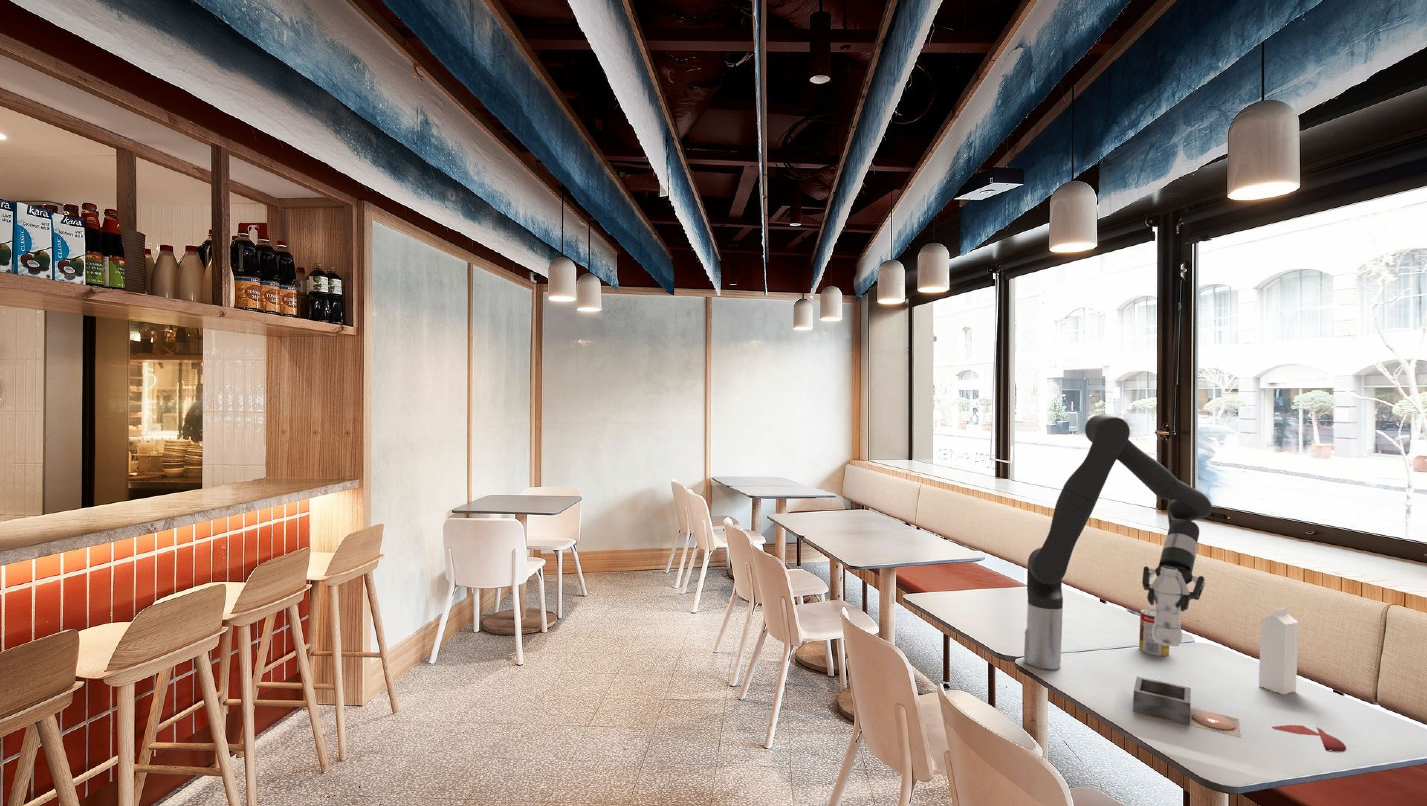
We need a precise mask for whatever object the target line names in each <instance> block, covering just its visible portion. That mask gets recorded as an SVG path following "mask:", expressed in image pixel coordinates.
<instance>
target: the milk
mask: <svg viewBox="0 0 1427 806" xmlns="http://www.w3.org/2000/svg"><path fill="white" fill-rule="evenodd" d="M1287 611H1288V609H1287V607H1282V608H1274V609H1273V613H1272V614H1271V615H1267V616H1264V617H1261V619H1260V638H1259V639H1260V641H1259V643H1260V646H1259V666H1258V667H1259V668H1258V670H1259V671H1258V686H1259V685H1260V686H1261V687H1260V688H1262V687H1264V688H1263V689H1265V688H1266V689H1265V690H1268V689H1270V690H1269V691H1272V692H1275V693H1276V692H1278V693H1277V694H1279V693H1280V695H1284V696H1285V695H1288V693H1289V694H1292V693H1291V692H1293V693H1296V692H1297V676H1298V674H1297V673H1298V647H1299V645H1298V644H1299V626H1300V625H1299V621H1298V620H1297V619H1295V618H1294V617H1292V616H1291V615H1290V614H1288V612H1287Z"/></svg>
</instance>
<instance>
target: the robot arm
mask: <svg viewBox="0 0 1427 806" xmlns="http://www.w3.org/2000/svg"><path fill="white" fill-rule="evenodd" d="M1130 432H1131V430H1130V426H1129V423H1128V422H1127V421H1126V420H1124V419H1123V418H1121V417H1118V416H1114V415H1108V414H1097V415H1094V416H1091V417H1090V418H1089V419H1088V420H1087V421H1086V423H1085V427H1084V433H1085V435H1086V437H1087V440H1088V441H1090V442H1091V446H1090V448H1089V451H1088V453H1087V454H1086V457H1085V459H1084V460H1083V462H1082V463H1081V464H1080V465H1079V466H1078V467H1077V468H1076V470H1074V472H1073V473H1072V474H1071V475H1070V476H1069V478H1068V479H1067V480H1066V482H1065V483H1064V485H1063V487H1062V488H1061V492H1060V493H1059V496H1058V498H1057V500H1056V502H1055V506H1054V510H1053V515H1052V519H1051V525H1050V528H1049V532H1048V534H1047V536H1046V539H1045V541H1044V543H1043V544H1042V546H1041V547H1039V548H1036V549H1035V550H1033V551H1032V552H1031V553H1030V554H1029V557H1028V559H1027V570H1026V571H1027V574H1026V575H1027V576H1026V578H1027V579H1026V580H1027V581H1026V586H1027V587H1026V591H1027V592H1026V593H1027V610H1026V612H1027V613H1026V614H1027V615H1026V628H1025V630H1024V650H1023V653H1024V654H1023V663H1024V664H1028V665H1030V666H1032V667H1035V668H1038V669H1042V670H1043V669H1044V670H1058V669H1060V668H1061V662H1062V658H1061V657H1062V639H1063V638H1062V635H1063V634H1062V633H1063V632H1062V631H1063V612H1064V609H1063V608H1064V607H1063V604H1064V597H1063V591H1062V588H1063V587H1062V583H1063V582H1062V579H1064V577H1065V576H1066V573H1067V569H1068V566H1069V563H1070V561H1071V557H1072V554H1073V550H1074V549H1075V546H1076V544H1077V542H1078V539H1079V538H1080V536H1081V534H1082V532H1083V530H1084V528H1085V526H1086V524H1087V523H1088V521H1089V519H1090V517H1091V515H1092V513H1093V511H1094V509H1095V506H1096V504H1097V502H1098V501H1099V497H1100V494H1101V492H1102V491H1103V488H1104V486H1105V484H1106V481H1107V480H1108V477H1109V475H1110V472H1111V470H1112V469H1113V466H1114V465H1115V463H1116V461H1118V462H1120V463H1121V464H1122V465H1123V466H1124V467H1125V468H1126V469H1128V470H1129V471H1130V472H1131V473H1132V474H1133V475H1134V476H1135V477H1136V478H1137V479H1139V481H1141V483H1142V484H1143V485H1144V486H1146V488H1148V489H1149V490H1150V491H1151V492H1152V493H1154V495H1156V496H1157V497H1158V498H1159V499H1161V500H1164V501H1166V500H1167V501H1168V500H1171V501H1170V502H1169V503H1168V505H1167V506H1166V507H1167V508H1166V512H1167V518H1168V519H1167V520H1168V526H1169V527H1168V531H1167V535H1166V538H1165V540H1164V543H1163V546H1162V550H1161V551H1162V552H1161V555H1160V559H1159V563H1158V566H1157V567H1156V568H1154V569H1153V568H1150V567H1148V566H1144V567H1143V572H1142V581H1141V582H1142V586H1143V590H1144V591H1148V592H1147V597H1146V598H1147V602H1148V603H1149V604H1150V605H1151V606H1154V605H1155V595H1154V584H1155V582H1156V581H1157V580H1158V579H1159V578H1160V577H1161V574H1160V572H1161V567H1173V568H1177V569H1178V577H1177V580H1178V581H1179V582H1180V584H1181V585H1182V587H1183V595H1182V600H1181V604H1180V612H1185V611H1187V610H1188V609H1189V604H1190V601H1191V600H1195V601H1199V600H1200V598H1201V595H1202V592H1203V590H1204V587H1205V585H1206V581H1205V577H1204V576H1203V575H1199V576H1195V575H1193V570H1194V565H1195V561H1196V559H1197V549H1198V548H1197V547H1198V541H1199V536H1200V528H1199V525H1198V524H1197V523H1195V522H1194V521H1196V520H1200V519H1205V518H1207V517H1209V516H1210V515H1211V514H1212V510H1213V506H1212V503H1211V501H1210V500H1209V498H1208V497H1207V496H1206V495H1205V494H1204V493H1202V492H1201V491H1199V490H1197V489H1195V488H1194V487H1192V486H1190V485H1188V484H1187V483H1186V482H1183V481H1181V480H1179V479H1178V478H1177V477H1176V476H1175V475H1174V474H1173V473H1172V472H1171V471H1170V470H1168V469H1167V468H1166V467H1165V466H1164V465H1162V464H1161V463H1160V462H1159V461H1157V460H1156V459H1154V458H1153V457H1151V455H1149V454H1147V453H1145V452H1144V451H1143V450H1142V449H1140V448H1139V447H1138V446H1136V445H1135V444H1134V443H1133V442H1132V441H1131V440H1130V439H1129V438H1130ZM1154 575H1156V578H1155V579H1154V581H1153V582H1152V583H1151V584H1150V579H1151V578H1152V577H1154ZM1192 581H1193V583H1194V588H1193V590H1192V591H1189V589H1188V586H1187V585H1189V584H1190V583H1191V582H1192Z"/></svg>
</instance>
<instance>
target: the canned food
mask: <svg viewBox="0 0 1427 806" xmlns="http://www.w3.org/2000/svg"><path fill="white" fill-rule="evenodd" d="M1155 612H1156V611H1155V609H1149V608H1147V609H1140V613H1139V615H1140V617H1139V642H1138V643H1139V644H1138V649H1139V651H1140V652H1142V653H1145V654H1148V655H1152V656H1156V657H1167V656H1169V655H1170V646H1167V645H1163V644H1160V643H1157V642H1155V641H1154V639H1153V636H1152V629H1153V625H1154V620H1155Z"/></svg>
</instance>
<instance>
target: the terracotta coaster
mask: <svg viewBox="0 0 1427 806" xmlns="http://www.w3.org/2000/svg"><path fill="white" fill-rule="evenodd" d="M1211 713H1212V712H1211ZM1211 713H1205V712H1196V713H1193V714H1192V718H1193V719H1194V720H1195V721H1196V722H1198V723H1200V724H1202V725H1205V726H1208V727H1211V728H1215V729H1221V730H1233V729H1235V726H1236V725H1235V723H1234V722H1232V721H1231V720H1229V719H1227V718H1225V717H1222V716H1219V715H1216V714H1217V713H1215V714H1211Z"/></svg>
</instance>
